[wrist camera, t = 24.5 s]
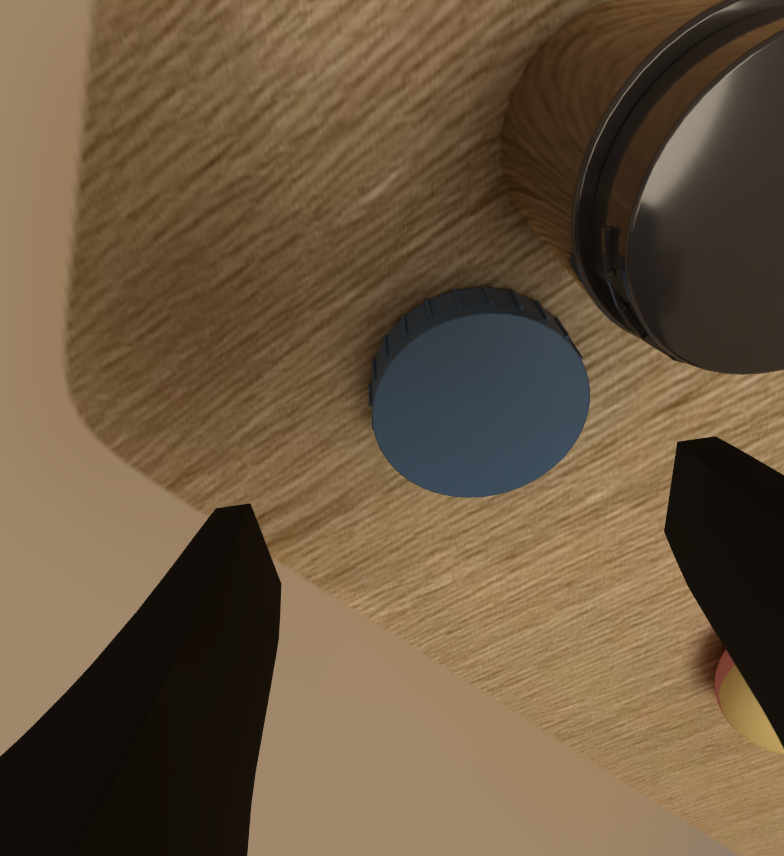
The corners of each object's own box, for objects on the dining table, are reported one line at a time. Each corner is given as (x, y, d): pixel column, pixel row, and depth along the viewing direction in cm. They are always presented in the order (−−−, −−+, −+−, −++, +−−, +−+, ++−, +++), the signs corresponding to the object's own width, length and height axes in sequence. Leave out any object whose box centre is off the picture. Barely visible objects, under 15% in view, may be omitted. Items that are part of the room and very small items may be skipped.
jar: (487, 247, 16) (570, 393, 9) (516, -7, 13) (666, -43, 6) (688, 249, 16) (898, 392, 10) (763, 0, 13) (1141, -26, 7)
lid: (581, 272, 16) (603, 297, 15) (566, 453, 19) (583, 488, 18) (356, 297, 16) (355, 324, 15) (381, 472, 20) (382, 509, 18)
